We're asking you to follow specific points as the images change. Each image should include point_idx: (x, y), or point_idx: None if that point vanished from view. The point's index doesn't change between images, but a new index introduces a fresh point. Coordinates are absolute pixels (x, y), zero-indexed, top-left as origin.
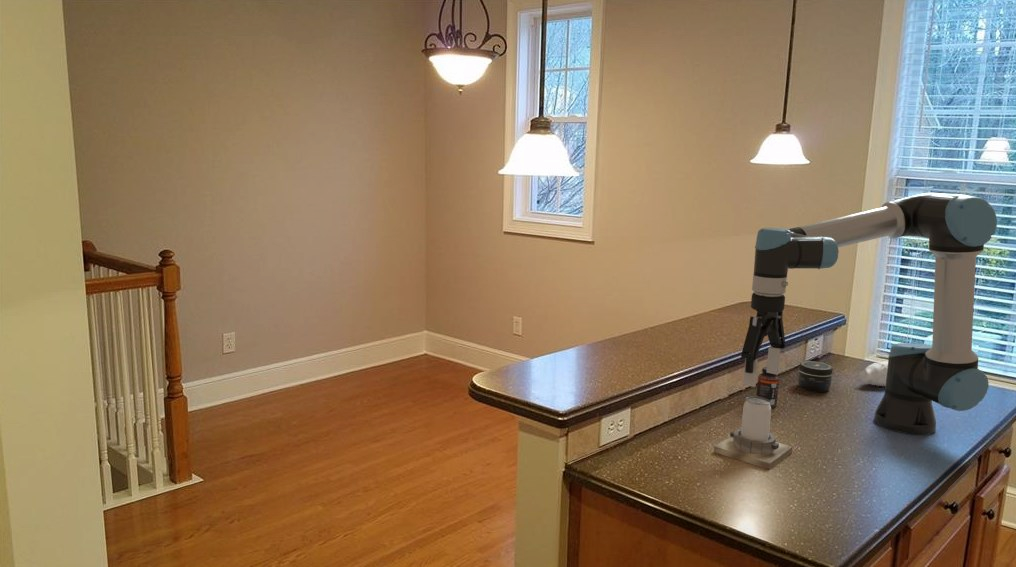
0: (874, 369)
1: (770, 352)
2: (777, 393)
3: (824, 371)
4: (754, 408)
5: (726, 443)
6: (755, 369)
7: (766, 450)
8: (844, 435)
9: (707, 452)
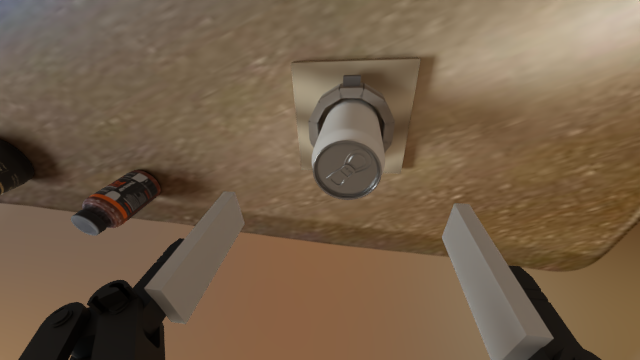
0: None
1: (197, 291)
2: (116, 182)
3: None
4: (384, 161)
5: None
6: (513, 275)
7: (373, 89)
8: (110, 14)
9: (407, 174)
